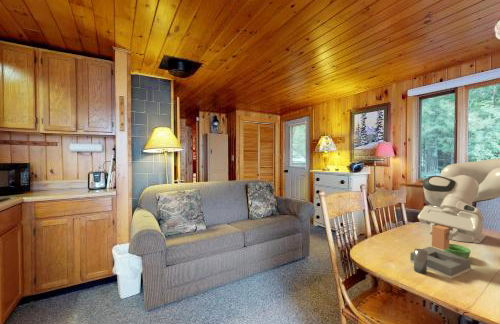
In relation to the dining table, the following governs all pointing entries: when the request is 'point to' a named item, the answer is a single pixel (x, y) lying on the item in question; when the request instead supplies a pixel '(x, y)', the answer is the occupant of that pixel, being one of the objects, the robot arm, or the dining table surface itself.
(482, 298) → the dining table surface
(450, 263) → the holder block
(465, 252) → the ramekin
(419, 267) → the cylinder
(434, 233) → the square bit
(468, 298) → the dining table surface
